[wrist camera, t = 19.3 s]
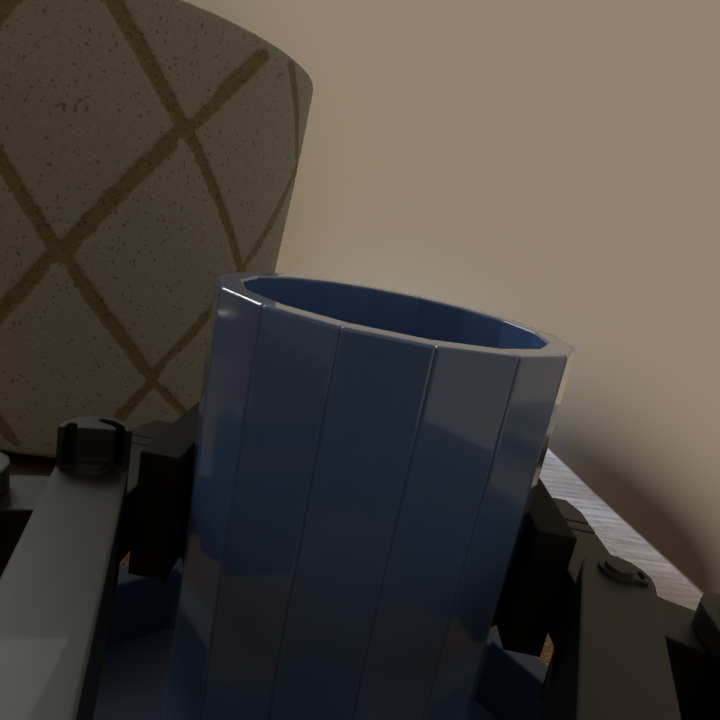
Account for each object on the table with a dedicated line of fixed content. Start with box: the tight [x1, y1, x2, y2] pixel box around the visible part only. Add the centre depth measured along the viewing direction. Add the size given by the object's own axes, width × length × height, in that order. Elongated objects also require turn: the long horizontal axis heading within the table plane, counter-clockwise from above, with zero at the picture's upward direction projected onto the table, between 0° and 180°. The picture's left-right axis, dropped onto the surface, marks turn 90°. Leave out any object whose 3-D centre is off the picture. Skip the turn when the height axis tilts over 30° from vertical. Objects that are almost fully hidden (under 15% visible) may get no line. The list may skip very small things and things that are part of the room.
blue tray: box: [93, 558, 548, 720], centre depth 13 cm, size 11×11×3 cm
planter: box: [0, 0, 313, 458], centre depth 30 cm, size 19×19×20 cm
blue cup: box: [160, 272, 575, 720], centre depth 12 cm, size 7×7×11 cm
